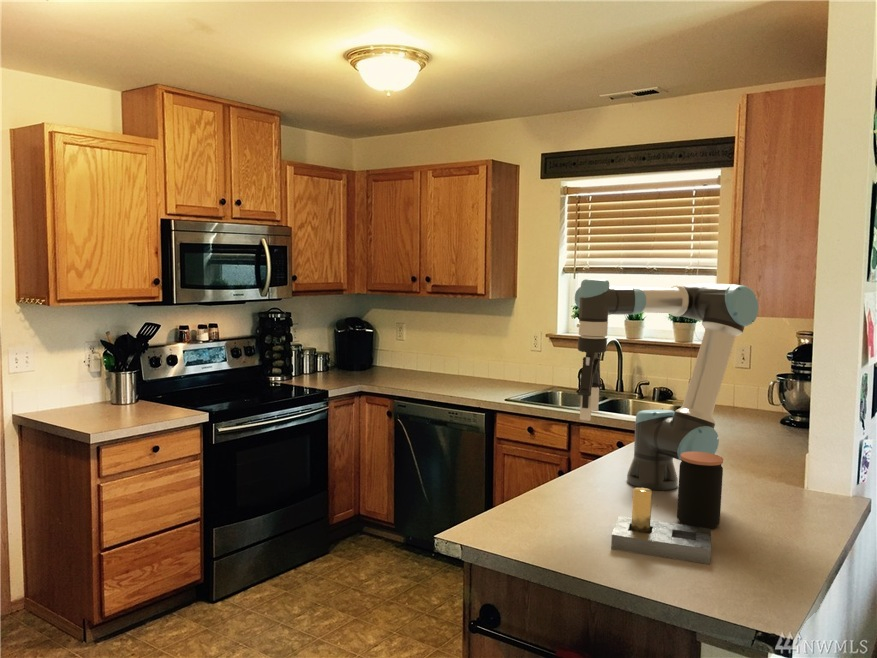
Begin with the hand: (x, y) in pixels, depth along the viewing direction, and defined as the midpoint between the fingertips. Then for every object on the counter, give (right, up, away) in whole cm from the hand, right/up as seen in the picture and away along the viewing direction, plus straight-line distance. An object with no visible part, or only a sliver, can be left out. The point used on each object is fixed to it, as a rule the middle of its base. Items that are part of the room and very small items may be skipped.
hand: (589, 415), depth 194 cm
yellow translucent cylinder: (+8, -29, -19) cm, 35 cm away
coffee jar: (+28, -28, -5) cm, 40 cm away
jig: (+13, -29, -21) cm, 38 cm away
